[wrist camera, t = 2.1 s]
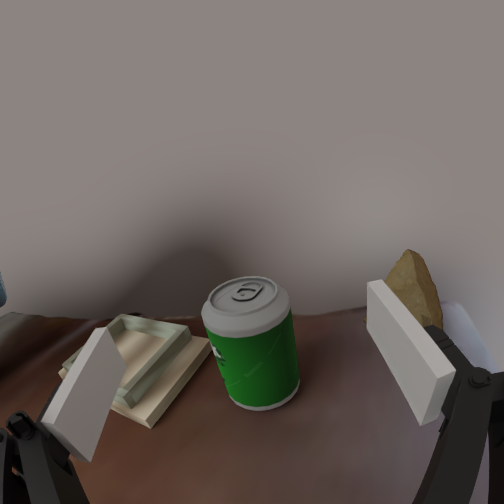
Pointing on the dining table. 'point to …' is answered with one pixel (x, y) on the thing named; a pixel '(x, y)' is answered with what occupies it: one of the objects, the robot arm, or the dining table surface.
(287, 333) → the soda can
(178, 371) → the stand
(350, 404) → the dining table surface
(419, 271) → the rock
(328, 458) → the dining table surface
